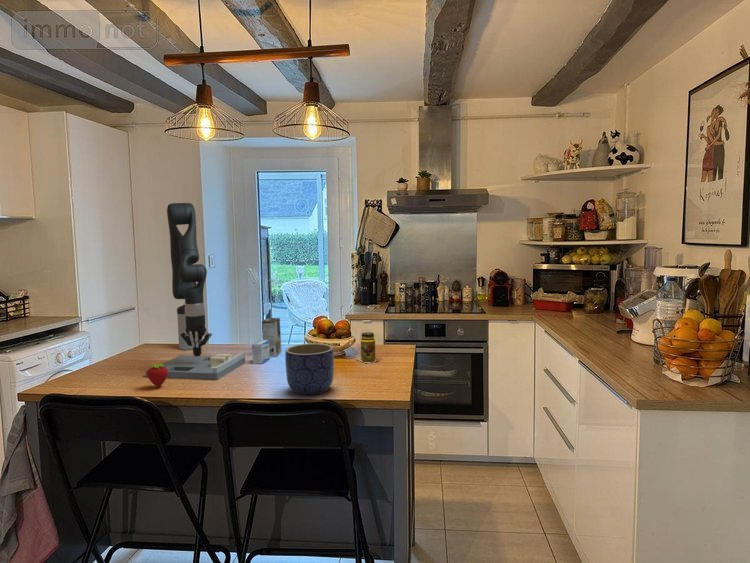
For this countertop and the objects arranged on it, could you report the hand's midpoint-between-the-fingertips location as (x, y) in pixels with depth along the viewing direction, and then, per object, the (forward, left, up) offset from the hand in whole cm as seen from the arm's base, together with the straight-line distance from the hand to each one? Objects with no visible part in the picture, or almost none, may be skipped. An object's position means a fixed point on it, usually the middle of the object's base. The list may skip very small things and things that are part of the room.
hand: (197, 355), depth 197 cm
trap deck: (0, 0, -6) cm, 6 cm away
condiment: (-22, +66, -6) cm, 70 cm away
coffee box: (-27, +21, -6) cm, 35 cm away
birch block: (+1, +11, -3) cm, 11 cm away
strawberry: (+23, -2, -6) cm, 24 cm away
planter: (+19, +54, -6) cm, 58 cm away
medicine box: (-15, +21, -6) cm, 26 cm away
